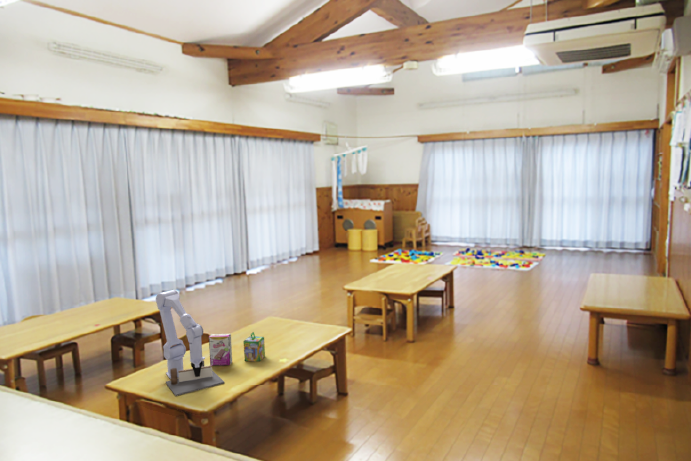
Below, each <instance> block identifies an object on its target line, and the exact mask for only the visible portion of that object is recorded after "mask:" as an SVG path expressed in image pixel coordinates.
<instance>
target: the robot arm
mask: <svg viewBox="0 0 691 461" xmlns="http://www.w3.org/2000/svg"><path fill="white" fill-rule="evenodd" d="M180 298H181V296H180V294H179V292H178V290H176V289H172V290H168V291H163V292H159V293H157V294H156V297H155V301H156V306H157V309H158V311H159V314H160V317H161V318H160V319H161V322H162V325H163V330H164V334H165V339H166V343H165V344H164V345H163V346H162V348H163V357H164V359H166V362H167V365H166V366H167V372H166V373H165V374H166V375H167V377H168V378H169V379H170V380H171V373H170V369H172V368H177V378H179V372H178V371H181V370H184V357H185V355H186V353H187V348H186V346H185V344H184V342H183V340H182V339H179V338H178V334H177V330H176V326H175V322H174V318H173V314H172V311H171V309H173V310H174V312H175V313H176V314H177V315H178V316H179V322H180V323H181V325H182V326H183V329H185V335H186V338H187V341H188V343H189V344H188V345H189V362H190V367H191V369H193V370H194V374H195V377H200V372H201V367H202V365H203V361H202V360H204V361H205V356H203V345H202V344H203V343H202V336H203V335H204V329H203V326H202V325H201V324H199V323H197V322H196V321H195V319H194V318H193V317H192V314H190V313H187V312H186V310H185V308H184V307H183V304H182V302H181V301H180Z"/></svg>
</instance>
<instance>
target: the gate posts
mask: <svg viewBox="0 0 691 461" xmlns="http://www.w3.org/2000/svg"><path fill="white" fill-rule="evenodd" d="M202 361H203V365H202V367H205V359H204V360H202ZM170 373H171V379H170V380H171V384H172V385H175V384H177V383H178V377H177V368H172V369H170Z"/></svg>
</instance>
